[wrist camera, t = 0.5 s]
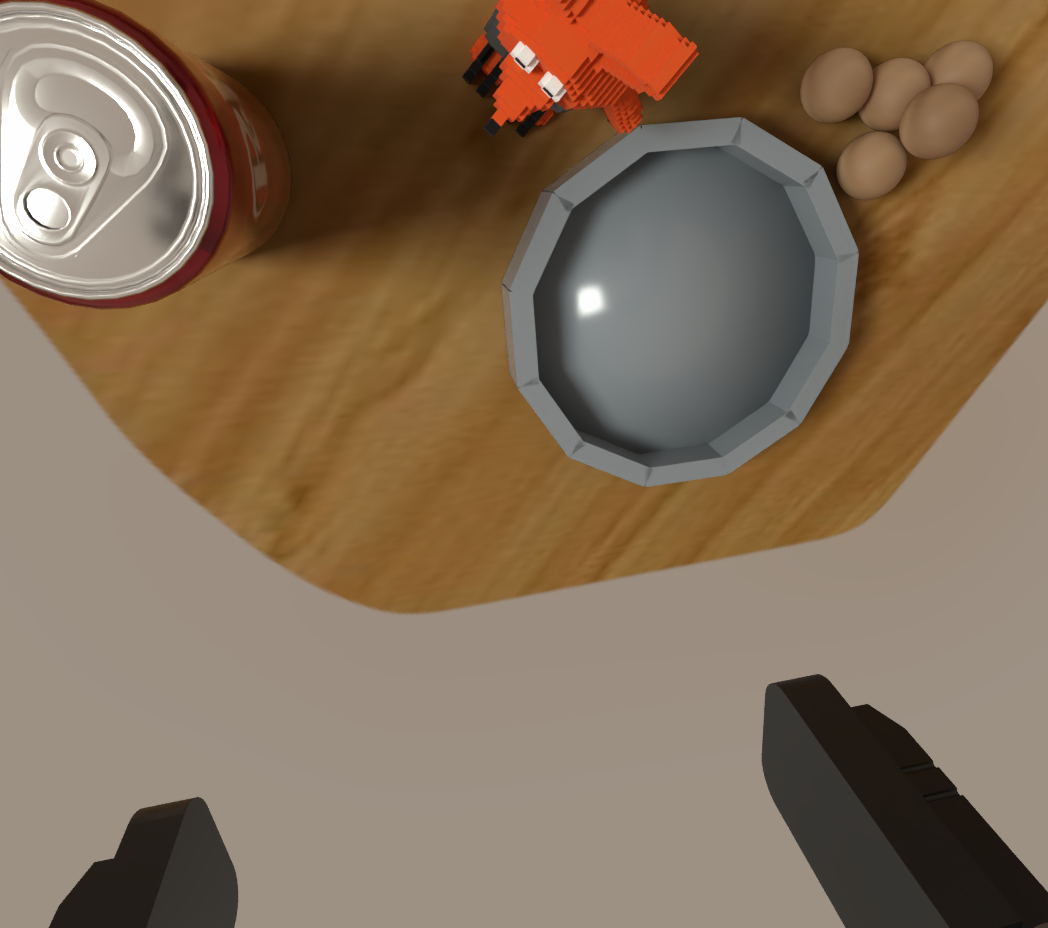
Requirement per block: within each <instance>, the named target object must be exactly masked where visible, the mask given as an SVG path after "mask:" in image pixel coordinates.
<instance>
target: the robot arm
mask: <svg viewBox="0 0 1048 928" xmlns="http://www.w3.org/2000/svg"><path fill="white" fill-rule="evenodd" d="M762 766H763V772H764V776H765V780H766V783H767V786H768V789H769V791H770V794H771V796H772V798H773V801H774V803H775V805H776V806H777V808H778V810H779V812H780V813H781V815H782V817H783V819H784V820H785V822H786V824H787V826H788V827H789V829H790V831H791V833H792V834H793V836H794V838H795V840H796V842H797V843H798V845H799V847H800V849H801V850H802V852H803V854H804V856H805V857H806V859H807V861H808V862H809V864H810V866H811V868H812V870H813V871H814V873H815V875H816V877H817V878H818V880H819V882H820V884H821V885H822V887H823V889H824V891H825V892H826V894H827V896H828V898H829V899H830V901H831V903H832V904H833V906H834V908H835V910H836V912H837V913H838V915H839V917H840V919H841V920H842V922H843V924H844V926H845V927H846V928H1048V892H1047V891H1046V890H1045V889H1044V887H1043V886H1042V885H1041V884H1040V883H1039V882H1038V881H1037V879H1036V878H1035V877H1034V876H1033V875H1032V874H1031V873H1030V871H1029V870H1028V869H1027V868H1026V867H1025V866H1024V864H1023V863H1022V862H1021V861H1020V860H1019V859H1018V858H1017V857H1016V855H1014V853H1013V852H1012V851H1011V850H1010V849H1009V847H1008V846H1007V845H1006V844H1005V843H1004V842H1003V841H1002V839H1001V838H1000V837H999V836H998V835H997V834H996V832H995V831H994V830H993V829H992V828H991V827H990V826H989V824H988V823H987V822H986V821H985V820H984V819H983V818H982V816H981V815H980V814H979V813H978V812H977V811H976V809H975V808H974V807H973V806H972V805H971V804H970V803H969V801H968V800H967V799H966V798H965V797H964V796H963V795H961V796H960V795H959V794H958V792H957V788H956V787H955V785H954V784H953V783H952V782H951V781H950V780H949V778H948V777H947V776H946V775H945V774H944V773H943V772H942V770H941V769H940V768H939V767H938V768H936V767H935V766H934V764H933V760H932V759H931V758H930V757H929V756H928V754H927V753H926V752H925V751H924V750H923V749H922V748H921V746H920V745H919V744H918V743H917V742H916V741H915V739H914V738H913V737H912V736H911V735H910V734H909V733H908V731H907V730H906V729H905V728H903V727H902V726H900V725H899V724H897V723H896V722H894V721H893V720H891V719H890V718H888V717H887V716H885V715H884V714H882V713H880V712H879V711H877V710H876V709H874V708H873V707H871V706H870V705H868V704H865V705H860V706H855V707H850V706H849V704H848V703H847V702H846V701H845V699H844V698H843V697H842V696H841V695H840V693H839V692H838V691H837V690H836V688H835V687H834V686H833V685H832V683H831V682H830V681H829V680H828V679H827V678H825V677H824V676H822V675H819V674H816V675H811V676H806V677H801V678H796V679H791V680H786V681H781V682H777V683H771V684H769V685H768V686H767V688H766V693H765V708H764V726H763V743H762ZM237 908H238V885H237V877H236V872H235V869H234V866H233V863H232V861H231V859H230V857H229V854H228V852H227V850H226V847H225V845H224V843H223V840H222V838H221V836H220V834H219V831H218V829H217V827H216V825H215V822H214V820H213V818H212V815H211V813H210V811H209V808H208V806H207V804H206V802H205V801H204V800H203V799H202V798H199V797H196V798H191V799H186V800H181V801H177V802H172V803H166V804H161V805H157V806H152V807H147V808H142V809H140V810H138V811H137V812H136V813H135V814H134V815H133V817H132V818H131V820H130V822H129V824H128V826H127V829H126V831H125V834H124V836H123V838H122V841H121V843H120V845H119V848H118V850H117V853H116V855H115V858H114V859H109V860H104V861H99V862H94V863H93V865H92V866H91V867H90V869H89V870H88V871H87V872H86V873H85V875H84V876H83V877H82V878H81V879H80V881H79V882H78V883H77V884H76V886H75V887H74V888H73V889H72V891H71V892H70V893H69V894H68V895H67V897H66V898H65V899H64V900H63V902H62V903H61V904H60V905H59V907H58V909H57V911H56V913H55V915H54V918H53V920H52V922H51V924H50V926H49V928H234V926H235V921H236V915H237Z"/></svg>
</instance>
